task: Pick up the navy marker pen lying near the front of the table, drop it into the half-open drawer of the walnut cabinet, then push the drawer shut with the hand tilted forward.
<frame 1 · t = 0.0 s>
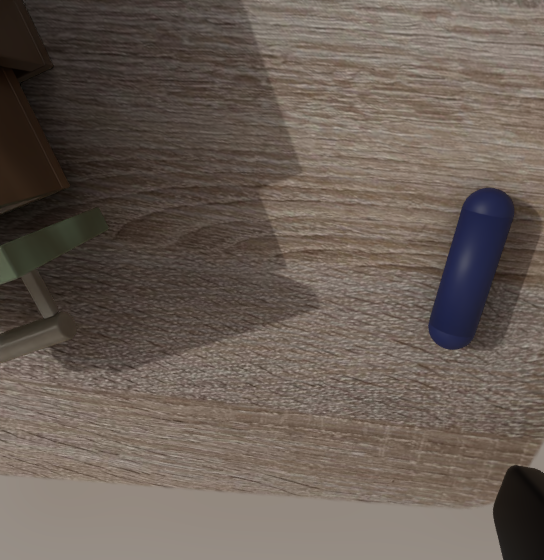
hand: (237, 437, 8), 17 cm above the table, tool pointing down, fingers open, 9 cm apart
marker: (461, 265, 24), on the table
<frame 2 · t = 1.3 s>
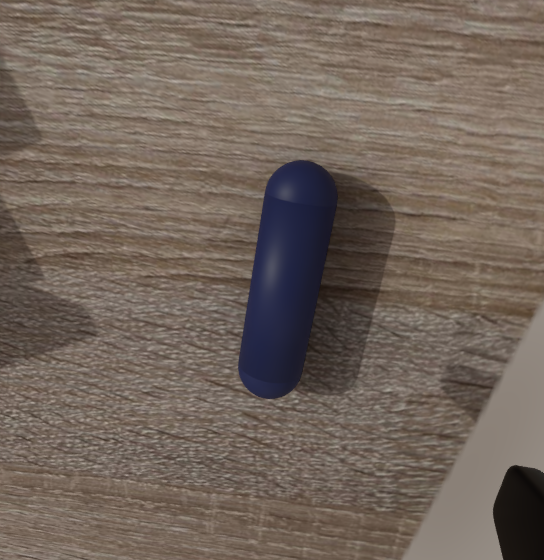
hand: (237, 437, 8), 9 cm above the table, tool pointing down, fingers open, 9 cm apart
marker: (286, 276, 16), on the table
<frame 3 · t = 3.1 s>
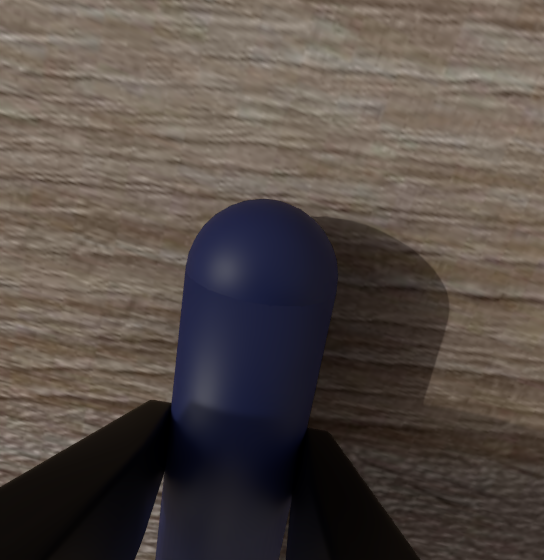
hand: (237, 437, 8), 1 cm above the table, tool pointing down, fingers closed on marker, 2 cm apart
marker: (244, 402, 9), on the table, touching gripper
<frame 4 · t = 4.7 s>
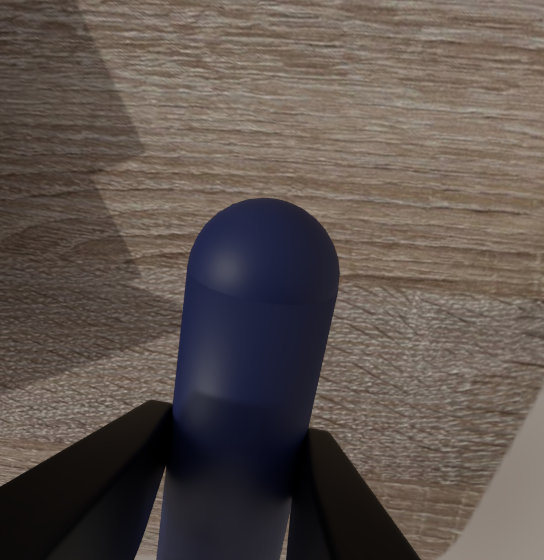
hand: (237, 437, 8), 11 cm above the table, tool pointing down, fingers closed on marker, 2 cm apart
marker: (245, 401, 9), point 10 cm above the table, touching gripper
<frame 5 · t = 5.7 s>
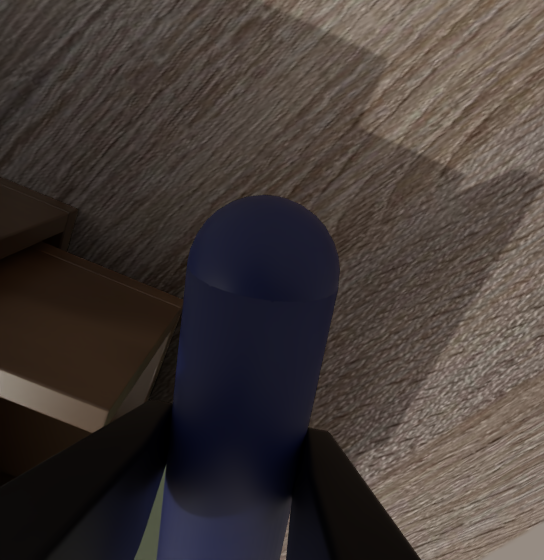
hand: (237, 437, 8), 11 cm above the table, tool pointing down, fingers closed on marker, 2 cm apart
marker: (245, 399, 9), point 10 cm above the table, touching gripper
drawer: (47, 451, 16), point 5 cm above the table, slide at 6.5 cm
when the fingers open (7 cm above the table, at t = 7.9 s): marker drops 4 cm, resting on drawer.
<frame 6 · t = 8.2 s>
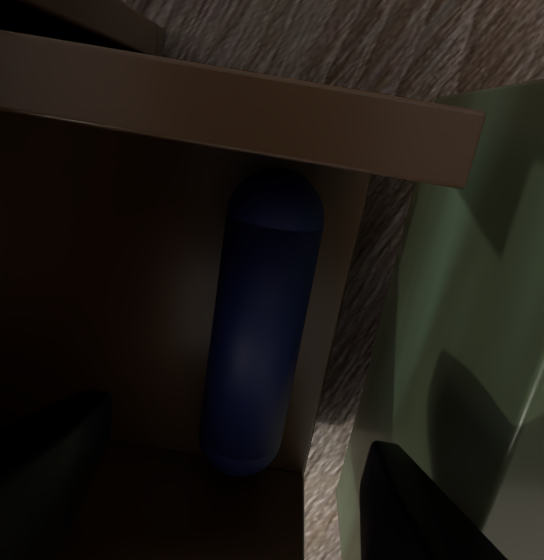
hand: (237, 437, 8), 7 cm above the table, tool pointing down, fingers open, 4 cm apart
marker: (274, 319, 13), point 2 cm above the table, tilted 21°, touching drawer
drawer: (242, 369, 10), point 5 cm above the table, slide at 7.1 cm, touching gripper, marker
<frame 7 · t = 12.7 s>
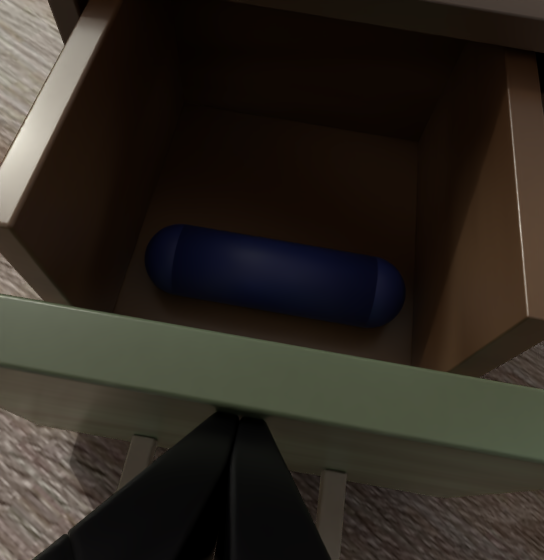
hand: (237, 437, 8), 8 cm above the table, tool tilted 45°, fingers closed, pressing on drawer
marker: (268, 310, 15), point 2 cm above the table, tilted 55°, touching drawer
cabinet: (307, 93, 22), on the table
drawer: (273, 263, 13), point 5 cm above the table, slide at 8.1 cm, touching gripper, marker
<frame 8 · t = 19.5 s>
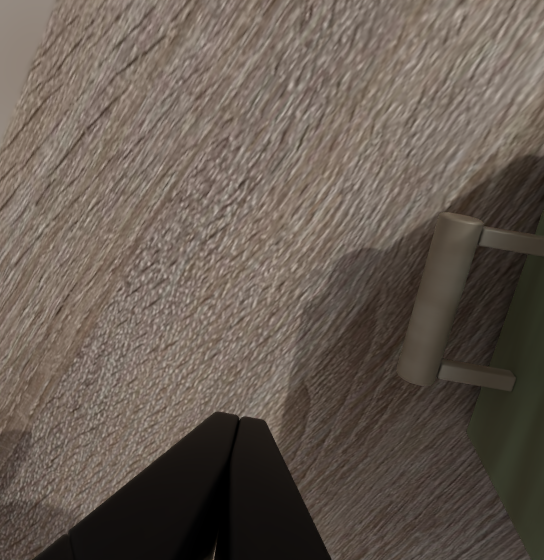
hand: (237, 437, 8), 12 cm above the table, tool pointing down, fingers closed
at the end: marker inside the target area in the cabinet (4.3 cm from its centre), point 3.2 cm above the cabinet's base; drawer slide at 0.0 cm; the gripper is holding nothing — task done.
